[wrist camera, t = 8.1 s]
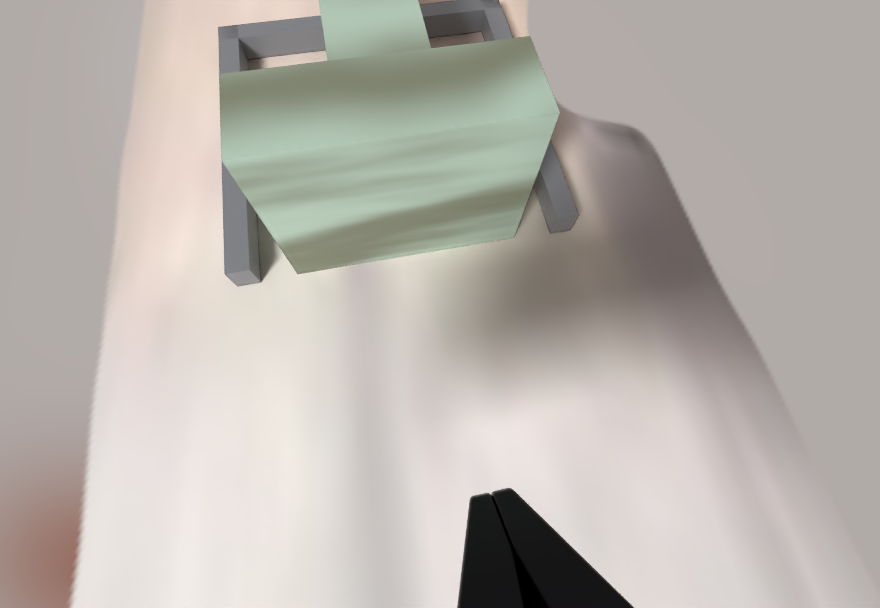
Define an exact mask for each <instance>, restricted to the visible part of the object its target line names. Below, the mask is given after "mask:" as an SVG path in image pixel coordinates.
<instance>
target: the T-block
mask: <svg viewBox="0 0 880 608" xmlns="http://www.w3.org/2000/svg"><path fill="white" fill-rule="evenodd" d="M319 6H320V13H321V19H322V26H323V33H324V39H325V46H326V53H327V59H328V61H323V62H315V63H306V64H298V65H290V66H282V67H274V68H266V69H257V70H249V71H241V72H233V73H225V74H219V85H220V126H221V160H222V162H223V163H224V165H225V166H226V168H227V169H228V171H229V172H230V174H231V175H232V177H233V178H234V180H235V181H236V183H237V184H238V186H239V187H240V189H241V190H242V192H243V193H244V195H245V196H246V198H247V199H248V201H249V202H250V204H251V205H252V207H253V208H254V210H255V211H256V213H257V214H258V216H259V217H260V219H261V220H262V222H263V223H264V225H265V226H266V228H267V229H268V231H269V232H270V234H271V235H272V237H273V238H274V240H275V241H276V243H277V244H278V246H279V247H280V249H281V250H282V252H283V253H284V255H285V256H286V258H287V259H288V260H289V262H290V263H291V265H292V266H293V268H294V269H295V271H296V272H297V274H302V273H308V272H314V271H320V270H326V269H332V268H337V267H343V266H349V265H355V264H361V263H367V262H373V261H379V260H385V259H391V258H397V257H403V256H409V255H415V254H421V253H427V252H432V251H438V250H444V249H450V248H456V247H462V246H468V245H474V244H480V243H486V242H492V241H498V240H504V239H510V238H514V236H515V234H516V231H517V228H518V226H519V223H520V220H521V217H522V215H523V212H524V209H525V207H526V204H527V201H528V198H529V196H530V193H531V190H532V188H533V185H534V182H535V179H536V177H537V174H538V171H539V169H540V166H541V163H542V160H543V158H544V155H545V152H546V149H547V147H548V144H549V141H550V139H551V136H552V133H553V130H554V128H555V125H556V122H557V120H558V117H559V114H560V111H559V108H558V106H557V103H556V101H555V98H554V96H553V93H552V91H551V88H550V85H549V83H548V81H547V78H546V76H545V73H544V71H543V68H542V65H541V63H540V60H539V57H538V55H537V53H536V50H535V47H534V45H533V42H532V40H531V37H530V36H527V37H519V38H511V39H503V40H495V41H486V42H478V43H470V44H462V45H454V46H446V47H437V48H431V46H430V42H429V38H428V35H427V31H426V27H425V24H424V20H423V16H422V13H421V9H420V5H419V2H418V0H319Z"/></svg>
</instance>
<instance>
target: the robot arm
mask: <svg viewBox="0 0 880 608" xmlns="http://www.w3.org/2000/svg"><path fill="white" fill-rule="evenodd" d="M457 608H634V607H633V606H632V605H631V604H630V603H629V602H628V601H627V600H626V599H625V598H624V597H623V596H622V595H620V594H619V593H618V592H617V591H616V590H615V589H614V588H613V587H612V586H611V585H610V584H609V583H608V582H607V581H606V580H605V579H604V578H603V577H602V576H601V575H600V574H599V573H598V572H597V571H596V570H595V569H594V568H593V567H592V566H591V565H590V564H589V563H588V562H587V561H586V560H585V559H584V558H583V557H582V556H581V555H580V554H579V553H577V552H576V551H575V550H574V549H573V548H572V547H571V546H570V545H569V544H568V543H567V542H566V541H565V540H564V539H563V538H562V537H561V536H560V535H559V534H558V533H557V532H556V531H555V530H554V529H553V528H552V527H551V526H550V525H549V524H548V523H547V522H546V521H545V520H544V519H543V518H542V517H541V516H540V515H539V514H538V513H537V512H536V511H534V510H533V509H532V508H531V507H530V506H529V505H528V504H527V503H526V502H525V501H524V500H523V499H522V498H521V497H520V496H519V495H518V494H517V493H516V492H515V491H514V490H513V489H511V488H506V489H502V490H497V491H494V492H492V494H489V493H484V494H480V495H475V496H472V497H471V498H470V503H469V511H468V520H467V529H466V537H465V546H464V555H463V563H462V572H461V580H460V589H459V598H458V606H457Z"/></svg>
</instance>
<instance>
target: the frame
mask: <svg viewBox="0 0 880 608" xmlns="http://www.w3.org/2000/svg"><path fill="white" fill-rule="evenodd" d="M420 9H421V13H422V16H423V20H424V24H425V27H426V31H427V35H428V38H430V37H438V36H446V35H455V34H463V33H471V32H480V31H482V34H483V37H484V40H485V42H486V41H495V40H503V39H511V38H513V37H512V34H511V32H510V29H509V26H508V24H507V21H506V18H505V16H504V13H503V10H502V8H501V5H500V2H499V0H456V1H447V2H438V3H429V4H420ZM218 35H219V74H225V73H233V72H241V71H248V59H254V58H263V57H271V56H279V55H288V54H296V53H304V52H313V51H321V50H326V46H325V39H324V33H323V26H322V19H321V16H313V17H304V18H295V19H286V20H277V21H268V22H259V23H250V24H241V25H232V26H223V27H218ZM534 187H535V190H536V193H537V196H538V199H539V202H540V205H541V208H542V211H543V214H544V217H545V220H546V223H547V226H548V229H549V232H550V233H555V232H561V231H567V230H571V228H572V226H573V225H574V223H575V221H576V220H577V218H578V216H579V214H578V211H577V208H576V206H575V203H574V200H573V198H572V195H571V192H570V190H569V187H568V184H567V182H566V179H565V176H564V174H563V171H562V168H561V166H560V163H559V160H558V158H557V155H556V152H555V150H554V147H553V144H552V141H551V139H550V141H549V144H548V147H547V149H546V152H545V155H544V158H543V160H542V163H541V166H540V169H539V171H538V174H537V177H536V179H535V182H534ZM222 190H223V229H224V268H225V275H226V276H227V277H228V278H229V279H230V280H231V281H232V282H233V283H234V284H235V285H237V286H242V285H248V284H254V283H260V282H261V279H260V262H259V245H258V228H257V213H256V211H255V210H254V208H253V207H252V205H251V204H250V202H249V201H248V199H247V198H246V196H245V195H244V193H243V192H242V190H241V189H240V187H239V186H238V184H237V183H236V181H235V180H234V178H233V177H232V175H231V174H230V172H229V171H228V169H227V168H226V166H225V165H224V163H223V162H222Z"/></svg>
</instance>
